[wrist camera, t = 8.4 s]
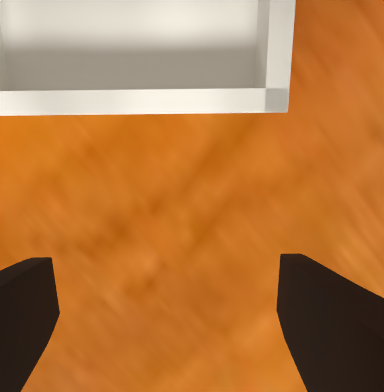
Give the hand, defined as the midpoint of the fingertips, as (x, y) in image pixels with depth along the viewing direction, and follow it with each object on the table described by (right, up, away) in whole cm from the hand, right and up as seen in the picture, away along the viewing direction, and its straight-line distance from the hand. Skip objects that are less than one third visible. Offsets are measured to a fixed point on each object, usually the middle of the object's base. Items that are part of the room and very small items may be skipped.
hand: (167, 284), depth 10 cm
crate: (-2, +12, +6) cm, 14 cm away
